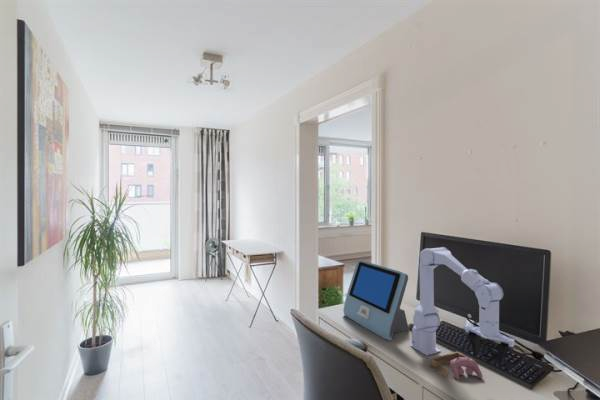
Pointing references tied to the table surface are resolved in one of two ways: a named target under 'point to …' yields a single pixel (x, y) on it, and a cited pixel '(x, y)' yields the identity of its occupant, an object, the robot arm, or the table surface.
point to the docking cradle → (444, 362)
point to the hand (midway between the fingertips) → (488, 359)
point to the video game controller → (464, 361)
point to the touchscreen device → (377, 299)
